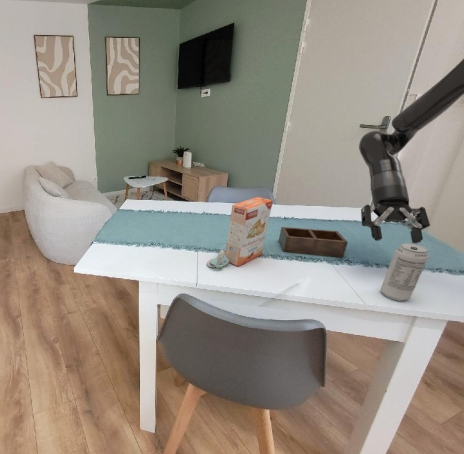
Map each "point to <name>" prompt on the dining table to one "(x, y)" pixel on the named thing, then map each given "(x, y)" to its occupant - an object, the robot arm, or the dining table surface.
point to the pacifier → (218, 260)
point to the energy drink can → (404, 271)
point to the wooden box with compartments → (312, 242)
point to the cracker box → (247, 230)
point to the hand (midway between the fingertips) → (397, 241)
